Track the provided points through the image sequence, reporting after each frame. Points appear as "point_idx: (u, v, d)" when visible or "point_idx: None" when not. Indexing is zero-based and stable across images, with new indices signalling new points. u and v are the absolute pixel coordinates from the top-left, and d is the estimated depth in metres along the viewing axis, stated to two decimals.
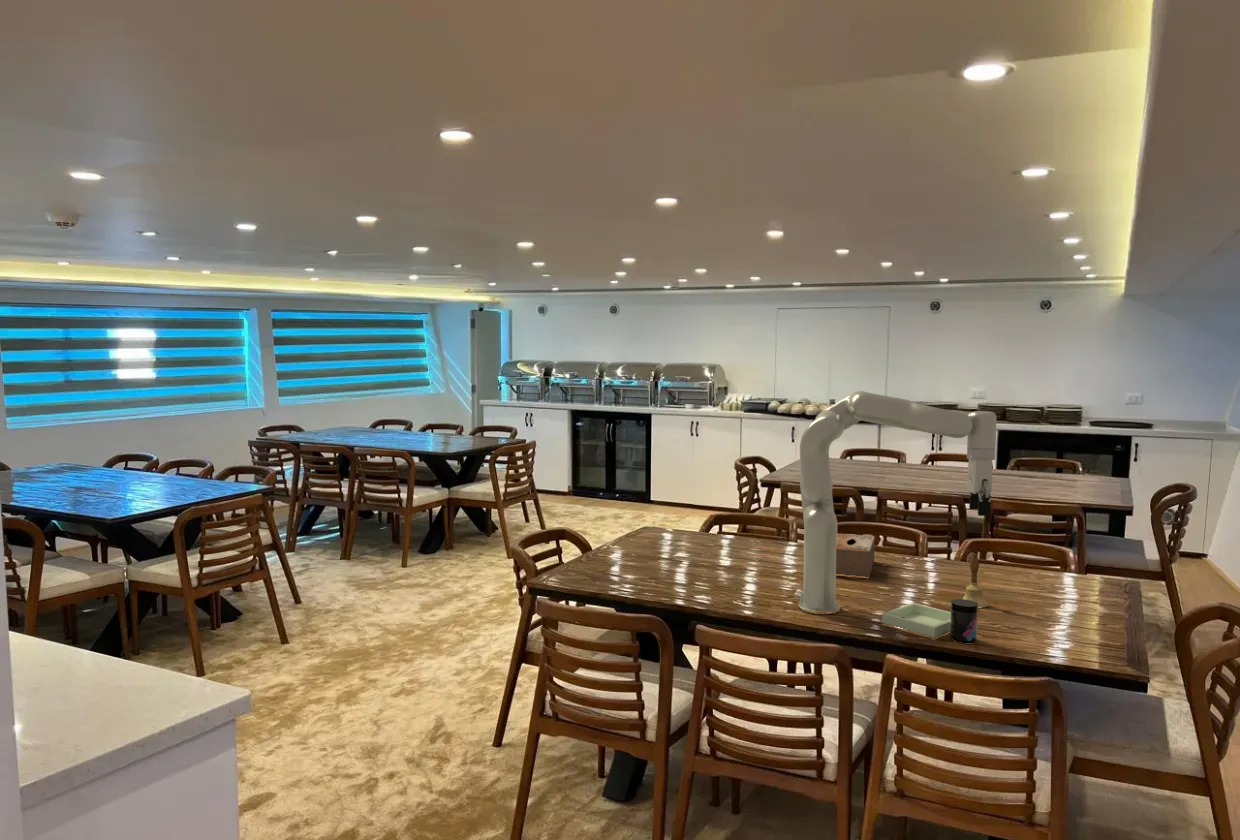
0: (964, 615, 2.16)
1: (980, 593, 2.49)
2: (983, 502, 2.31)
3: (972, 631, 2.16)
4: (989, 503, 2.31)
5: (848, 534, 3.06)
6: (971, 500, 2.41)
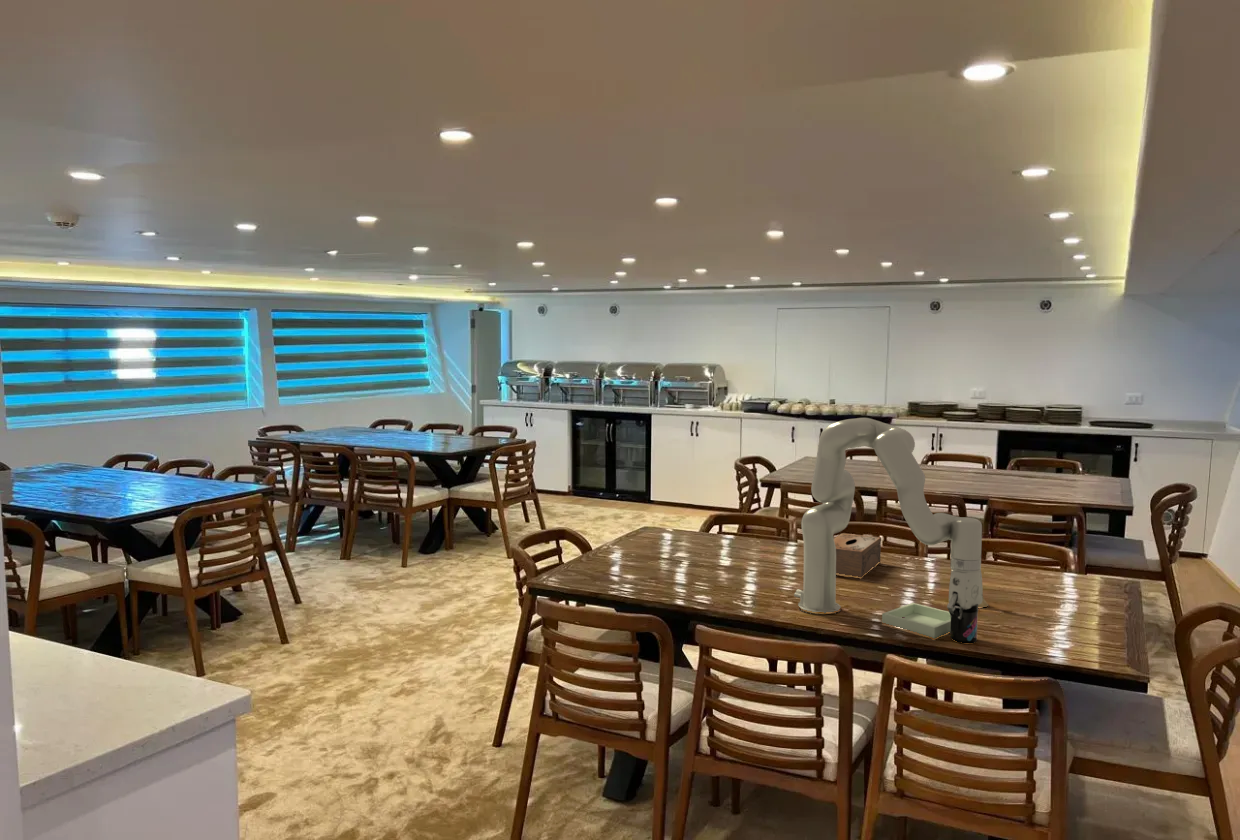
0: (964, 615, 2.16)
1: None
2: None
3: (972, 631, 2.16)
4: None
5: None
6: None
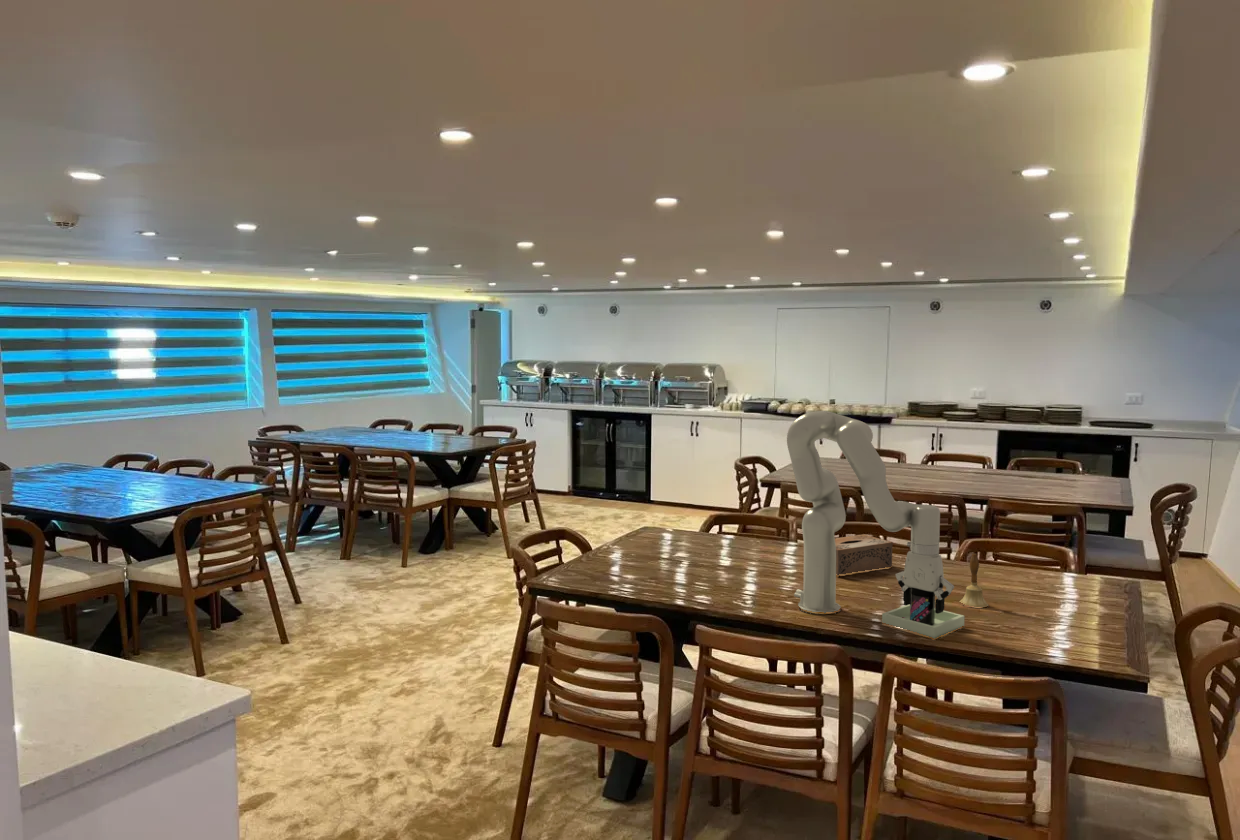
0: (910, 595, 2.32)
1: (980, 593, 2.49)
2: (942, 599, 2.25)
3: (912, 612, 2.30)
4: None
5: (872, 537, 3.02)
6: (907, 596, 2.33)
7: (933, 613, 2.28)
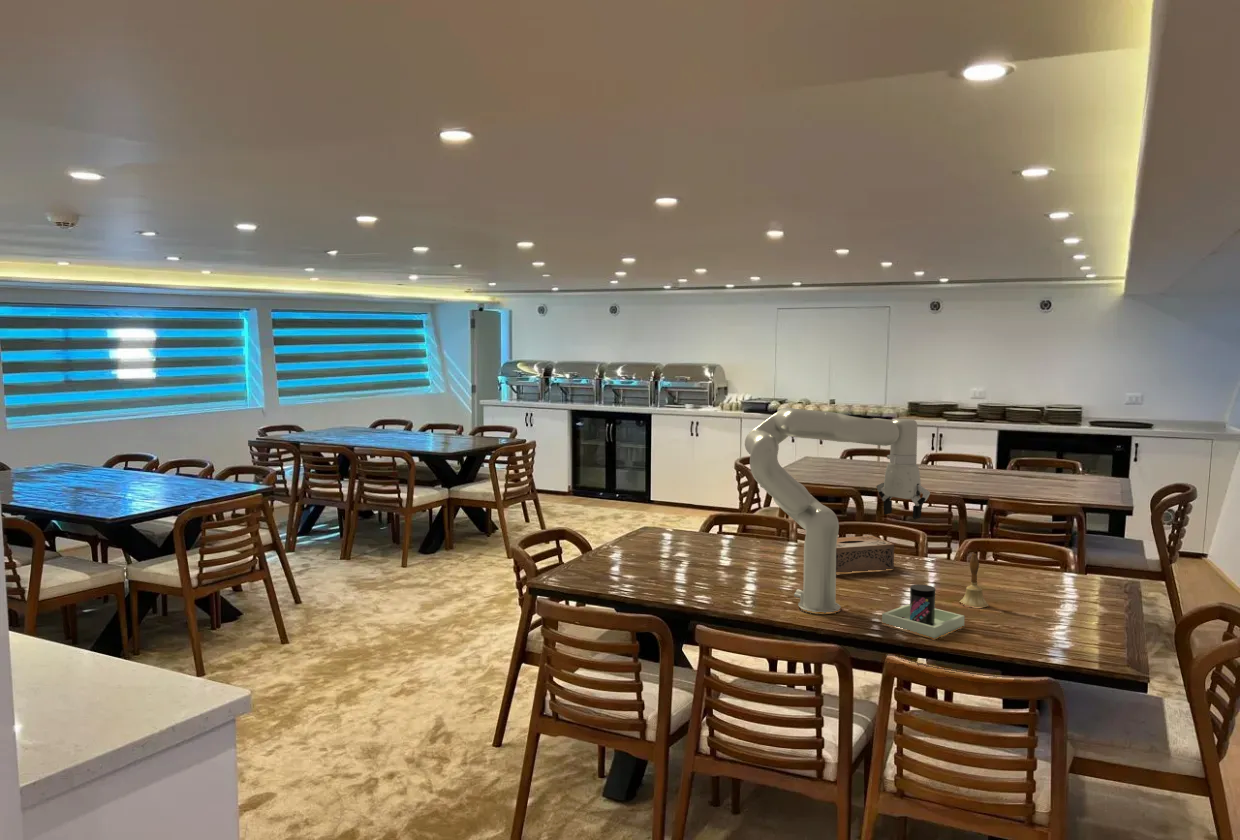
0: (910, 595, 2.32)
1: (980, 593, 2.49)
2: (919, 506, 2.41)
3: (912, 612, 2.30)
4: None
5: (878, 538, 2.99)
6: (886, 505, 2.49)
7: (933, 614, 2.28)
